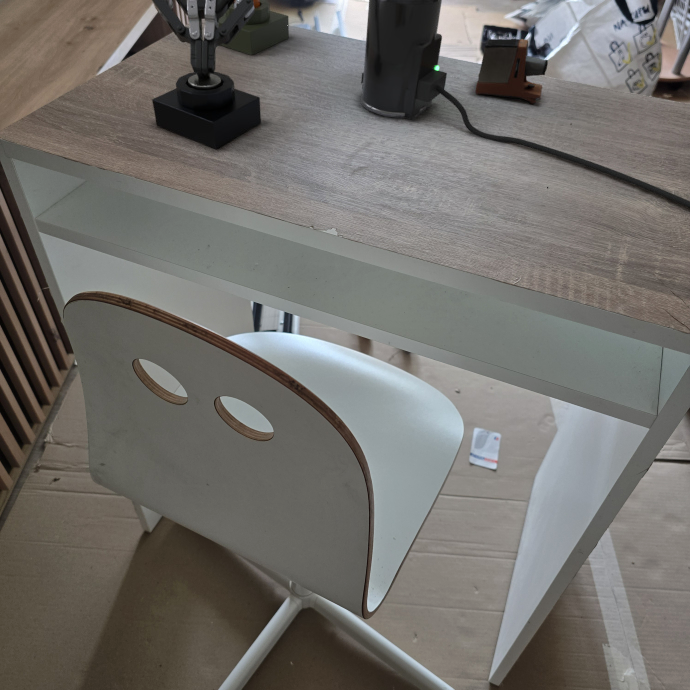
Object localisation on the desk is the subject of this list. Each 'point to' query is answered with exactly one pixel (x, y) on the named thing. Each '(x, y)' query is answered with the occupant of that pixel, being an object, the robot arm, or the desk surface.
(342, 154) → the desk surface
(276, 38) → the block far
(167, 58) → the desk surface
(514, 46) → the electronic device
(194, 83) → the button near
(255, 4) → the button far
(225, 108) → the block near
